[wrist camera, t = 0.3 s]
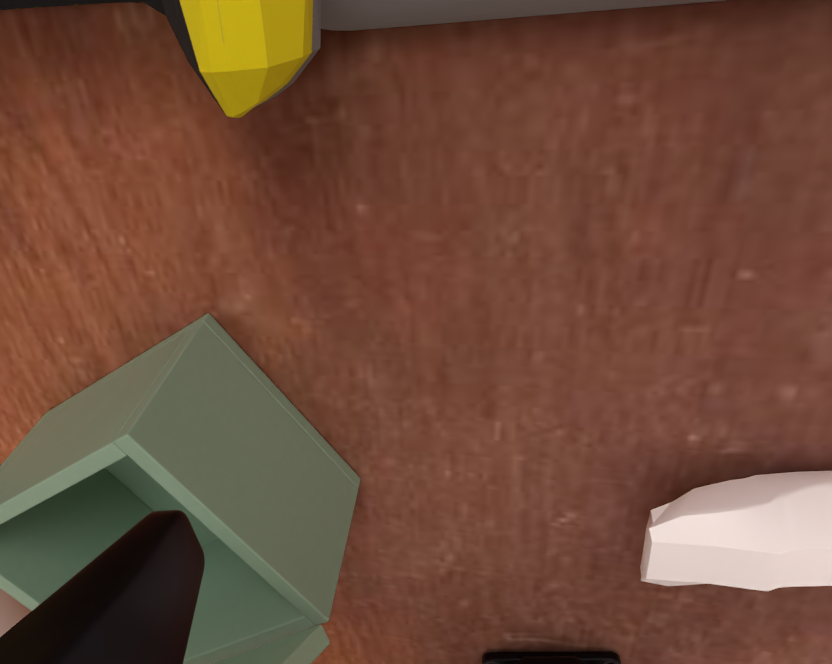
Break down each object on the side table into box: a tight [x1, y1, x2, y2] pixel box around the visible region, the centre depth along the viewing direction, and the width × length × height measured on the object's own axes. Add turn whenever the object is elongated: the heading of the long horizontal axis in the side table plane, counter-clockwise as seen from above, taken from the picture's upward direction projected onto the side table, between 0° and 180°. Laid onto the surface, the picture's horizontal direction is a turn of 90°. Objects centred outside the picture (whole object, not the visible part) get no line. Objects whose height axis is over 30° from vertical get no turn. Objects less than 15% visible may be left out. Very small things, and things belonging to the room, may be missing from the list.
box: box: [0, 313, 361, 664], centre depth 25 cm, size 9×9×7 cm
